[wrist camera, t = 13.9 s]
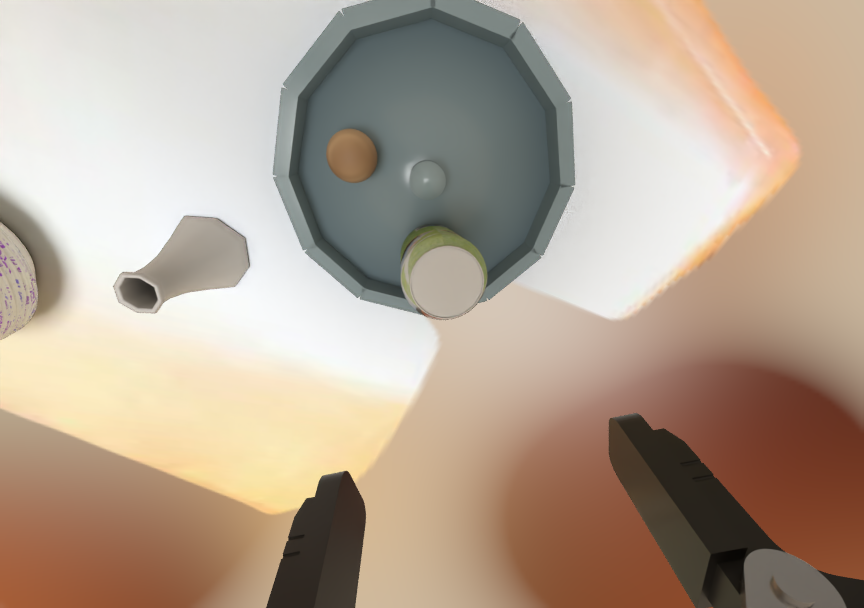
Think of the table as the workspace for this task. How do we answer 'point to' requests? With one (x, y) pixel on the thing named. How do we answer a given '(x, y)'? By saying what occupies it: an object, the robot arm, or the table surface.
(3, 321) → the paper bowls
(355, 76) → the tray
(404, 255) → the beverage can
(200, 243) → the flask
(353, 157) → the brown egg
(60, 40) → the table surface
